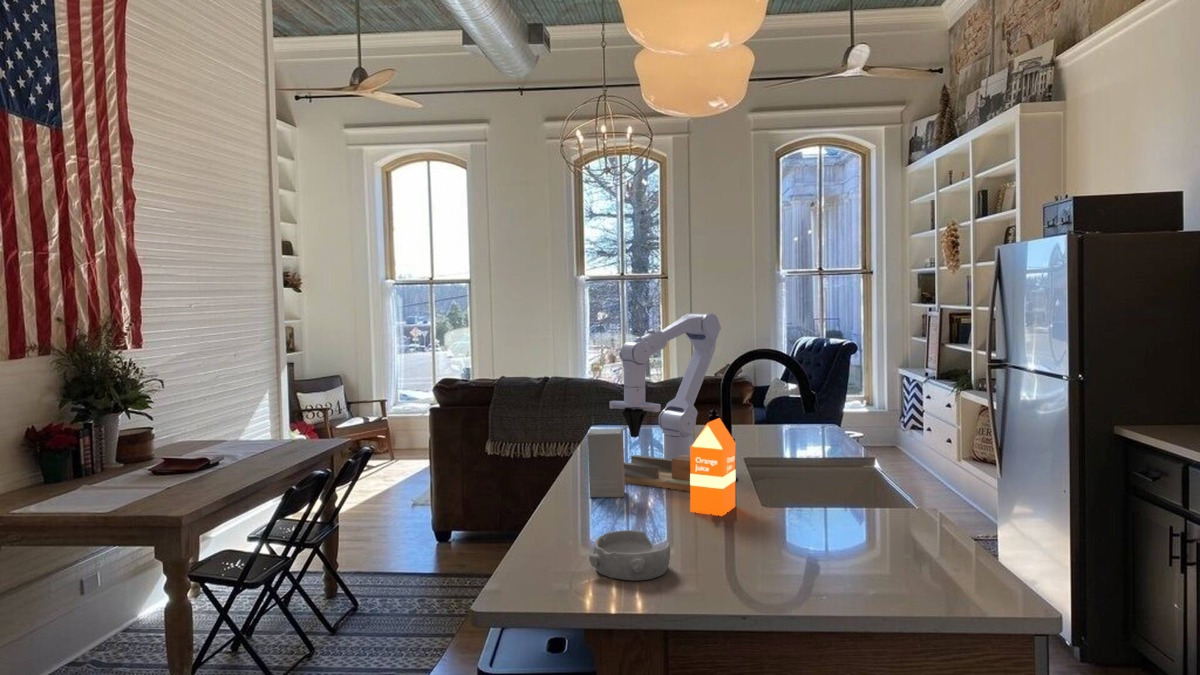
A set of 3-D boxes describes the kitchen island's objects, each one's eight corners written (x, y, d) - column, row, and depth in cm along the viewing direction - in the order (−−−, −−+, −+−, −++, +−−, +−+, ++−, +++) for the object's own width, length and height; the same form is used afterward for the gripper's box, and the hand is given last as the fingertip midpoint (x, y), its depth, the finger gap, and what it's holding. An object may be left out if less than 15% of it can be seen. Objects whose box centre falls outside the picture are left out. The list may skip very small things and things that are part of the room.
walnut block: (681, 473, 204) (681, 454, 203) (699, 475, 201) (699, 456, 201) (671, 478, 198) (671, 458, 198) (690, 480, 196) (690, 460, 196)
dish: (624, 551, 148) (624, 525, 147) (686, 567, 139) (686, 539, 139) (573, 572, 136) (573, 544, 136) (637, 591, 128) (637, 560, 127)
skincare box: (625, 491, 192) (624, 427, 191) (623, 499, 185) (622, 432, 184) (590, 491, 192) (590, 427, 192) (587, 498, 185) (586, 432, 185)
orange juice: (689, 511, 174) (689, 422, 173) (703, 502, 181) (703, 416, 180) (723, 516, 170) (723, 424, 169) (736, 506, 178) (736, 418, 177)
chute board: (630, 469, 216) (630, 453, 216) (711, 479, 204) (711, 462, 203) (604, 480, 204) (604, 463, 203) (689, 491, 192) (689, 473, 191)
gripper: (603, 386, 211) (604, 436, 211) (652, 389, 203) (652, 441, 204) (616, 383, 217) (616, 432, 217) (664, 386, 209) (664, 437, 210)
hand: (634, 436), depth 211 cm, fingers closed
